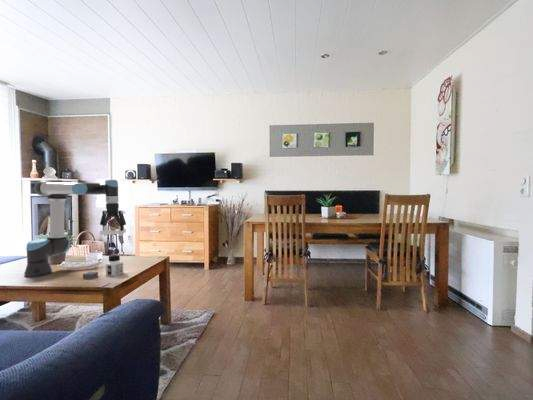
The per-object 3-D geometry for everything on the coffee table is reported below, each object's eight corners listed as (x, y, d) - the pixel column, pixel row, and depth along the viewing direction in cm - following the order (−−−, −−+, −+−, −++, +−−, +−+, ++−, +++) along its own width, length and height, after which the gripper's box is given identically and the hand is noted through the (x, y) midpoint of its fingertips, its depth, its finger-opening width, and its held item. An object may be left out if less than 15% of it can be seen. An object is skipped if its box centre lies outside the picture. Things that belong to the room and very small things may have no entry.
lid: (100, 234, 200) (99, 228, 199) (111, 232, 210) (111, 226, 210) (114, 234, 197) (114, 228, 197) (125, 232, 208) (125, 226, 208)
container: (115, 276, 200) (115, 256, 200) (105, 275, 202) (105, 256, 201) (123, 272, 208) (123, 254, 207) (113, 272, 209) (113, 253, 209)
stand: (82, 278, 195) (82, 274, 195) (90, 276, 201) (90, 271, 201) (90, 279, 194) (90, 274, 193) (98, 276, 199) (97, 272, 199)
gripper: (92, 203, 202) (94, 236, 203) (123, 202, 197) (124, 236, 198) (101, 202, 209) (102, 234, 210) (131, 202, 204) (132, 235, 205)
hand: (113, 235), depth 204 cm, fingers closed on lid, 11 cm apart
